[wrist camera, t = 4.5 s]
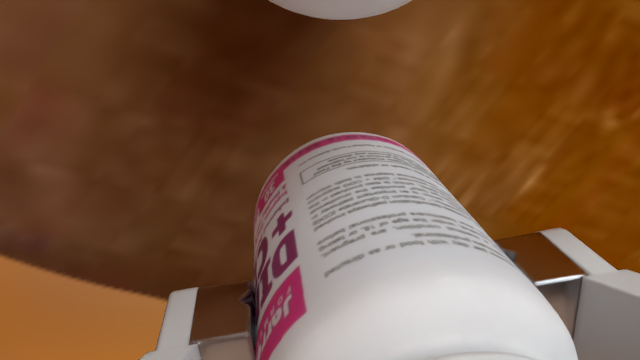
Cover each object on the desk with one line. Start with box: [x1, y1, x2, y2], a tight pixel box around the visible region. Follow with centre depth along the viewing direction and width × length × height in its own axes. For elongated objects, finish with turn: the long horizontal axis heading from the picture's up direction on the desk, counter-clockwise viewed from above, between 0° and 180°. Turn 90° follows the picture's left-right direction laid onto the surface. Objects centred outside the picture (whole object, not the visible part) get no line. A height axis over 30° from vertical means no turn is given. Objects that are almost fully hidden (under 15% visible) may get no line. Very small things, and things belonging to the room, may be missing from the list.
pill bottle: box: [254, 132, 578, 360], centre depth 9 cm, size 5×5×8 cm
